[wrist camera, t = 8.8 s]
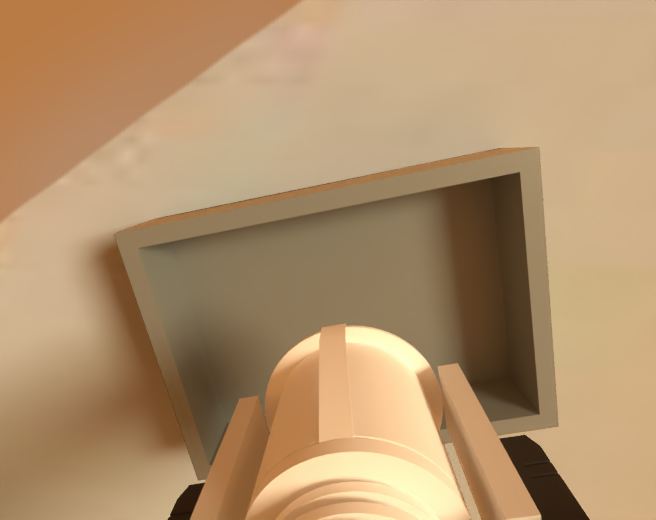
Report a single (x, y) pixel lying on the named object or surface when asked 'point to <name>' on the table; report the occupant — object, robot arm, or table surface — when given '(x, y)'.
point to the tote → (355, 286)
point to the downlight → (355, 433)
